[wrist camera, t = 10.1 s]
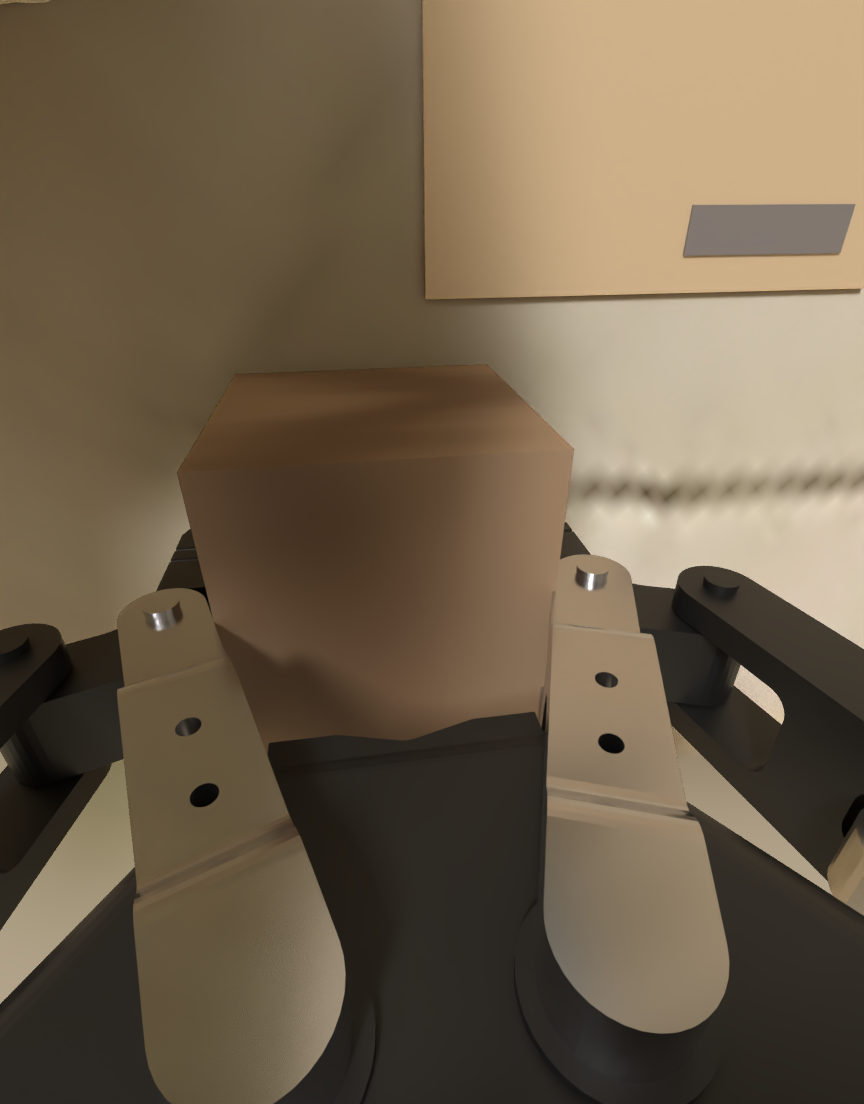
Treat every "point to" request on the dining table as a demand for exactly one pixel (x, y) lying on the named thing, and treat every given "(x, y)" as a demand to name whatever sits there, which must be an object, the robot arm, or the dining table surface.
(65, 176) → the dining table surface
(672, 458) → the dining table surface
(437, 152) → the letter
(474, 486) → the walnut block
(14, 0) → the storage basket
